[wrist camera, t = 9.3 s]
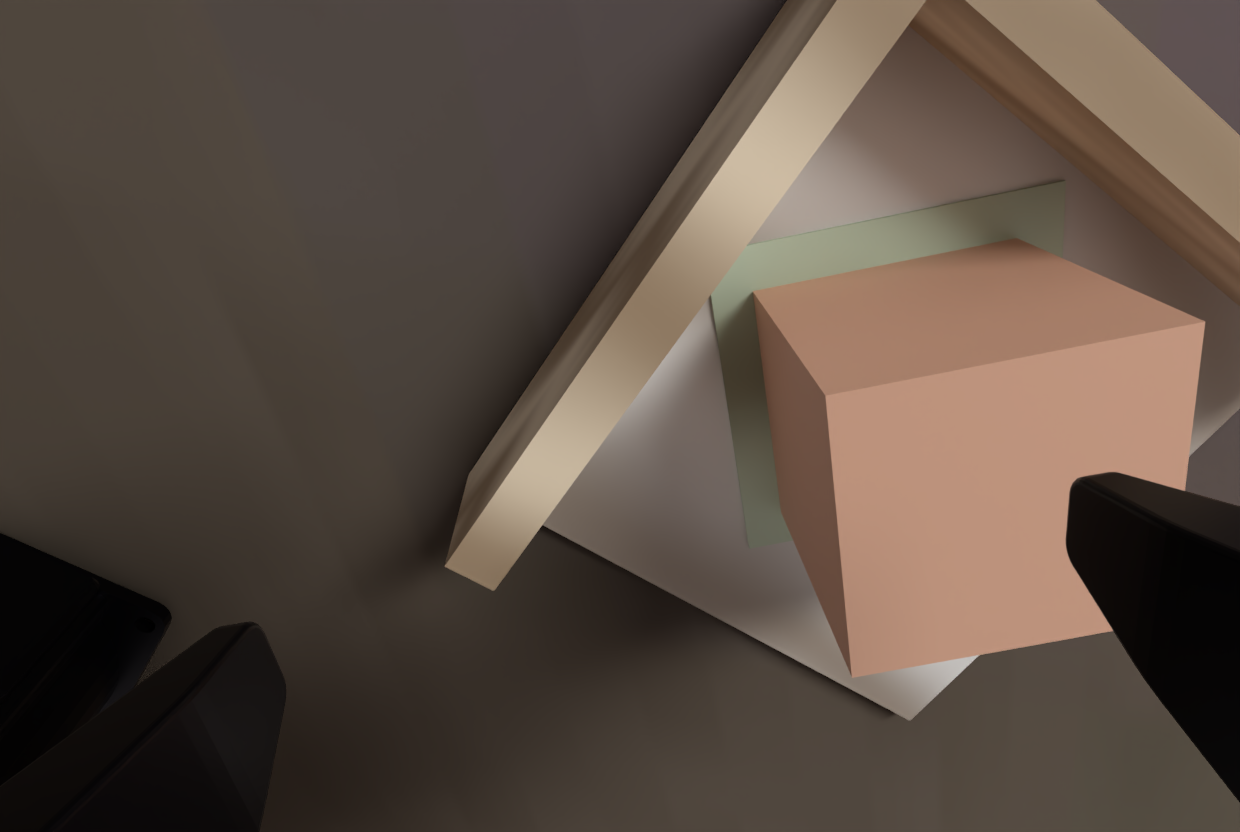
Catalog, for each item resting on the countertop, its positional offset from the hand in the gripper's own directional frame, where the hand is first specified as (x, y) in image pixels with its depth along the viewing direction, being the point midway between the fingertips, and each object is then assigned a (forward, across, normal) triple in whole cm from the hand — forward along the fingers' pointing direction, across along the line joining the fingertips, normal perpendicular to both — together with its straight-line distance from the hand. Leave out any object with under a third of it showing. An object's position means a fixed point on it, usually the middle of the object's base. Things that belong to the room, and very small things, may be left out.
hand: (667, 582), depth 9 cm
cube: (+10, -6, +3) cm, 12 cm away
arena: (+11, -6, +4) cm, 13 cm away
